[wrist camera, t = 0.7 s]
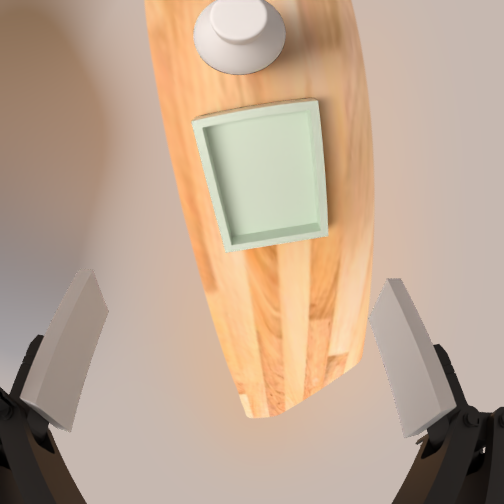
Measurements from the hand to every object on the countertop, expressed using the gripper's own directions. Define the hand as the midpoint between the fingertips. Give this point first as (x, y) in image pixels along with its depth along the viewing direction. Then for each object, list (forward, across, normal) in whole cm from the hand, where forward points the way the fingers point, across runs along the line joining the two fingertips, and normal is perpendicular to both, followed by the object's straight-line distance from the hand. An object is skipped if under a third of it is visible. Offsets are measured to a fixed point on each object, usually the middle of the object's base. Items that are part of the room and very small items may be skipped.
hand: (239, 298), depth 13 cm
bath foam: (+27, -1, +11) cm, 29 cm away
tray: (+26, +3, -5) cm, 27 cm away
